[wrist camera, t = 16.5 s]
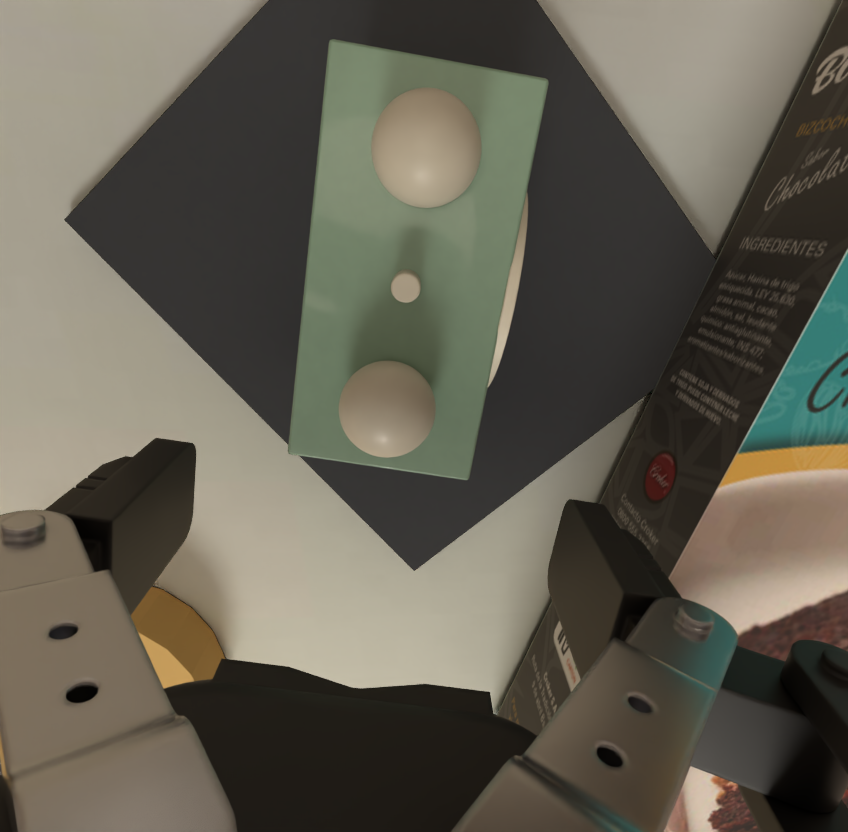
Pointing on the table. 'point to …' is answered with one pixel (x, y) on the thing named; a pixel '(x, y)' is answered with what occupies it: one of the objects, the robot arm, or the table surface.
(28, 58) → the table surface
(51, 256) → the table surface
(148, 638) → the decorative plaque
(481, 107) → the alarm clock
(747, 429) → the cake mix box
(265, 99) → the placemat
